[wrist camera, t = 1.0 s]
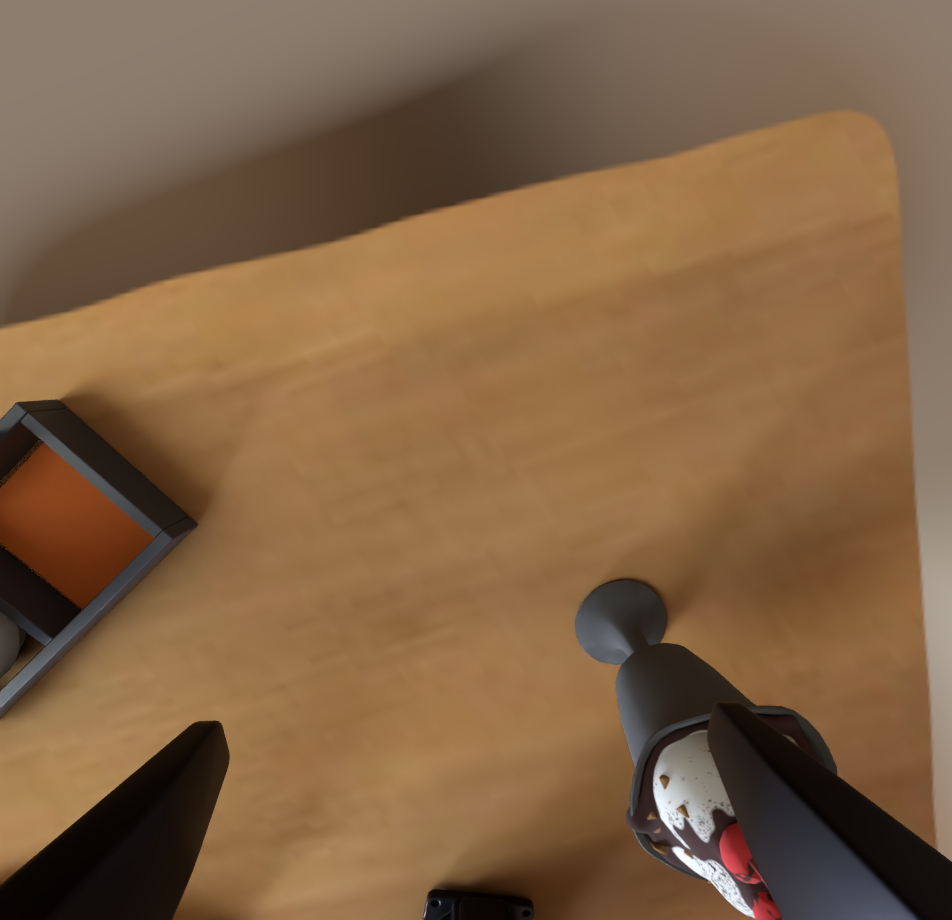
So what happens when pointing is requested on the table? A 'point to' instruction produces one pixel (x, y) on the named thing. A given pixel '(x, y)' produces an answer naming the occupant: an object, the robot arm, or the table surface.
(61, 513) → the mat
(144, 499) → the dark grey divided frame
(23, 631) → the energy drink can
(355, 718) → the table surface
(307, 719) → the table surface
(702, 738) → the sundae
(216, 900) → the table surface
